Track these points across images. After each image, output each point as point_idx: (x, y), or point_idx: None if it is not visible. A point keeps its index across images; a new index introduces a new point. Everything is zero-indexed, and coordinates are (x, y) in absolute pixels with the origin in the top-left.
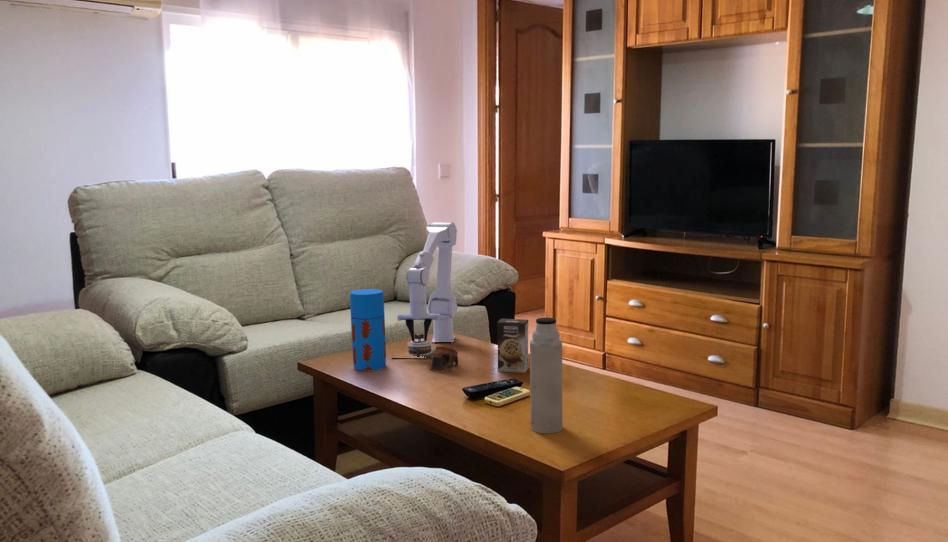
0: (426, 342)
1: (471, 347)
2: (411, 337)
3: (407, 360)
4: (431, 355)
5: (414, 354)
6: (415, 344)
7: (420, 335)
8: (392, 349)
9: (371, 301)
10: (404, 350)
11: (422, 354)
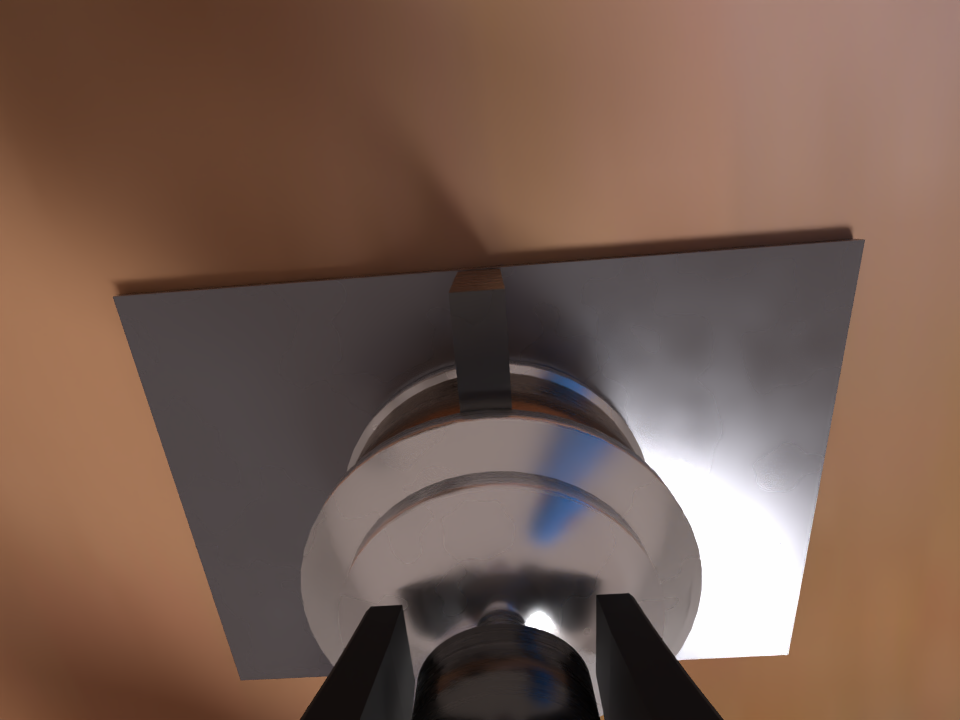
0: (355, 558)
1: (17, 713)
2: (670, 651)
3: (618, 161)
4: (320, 388)
5: (546, 379)
6: (549, 481)
7: (461, 704)
8: (824, 649)
9: None
10: None
11: (435, 385)
